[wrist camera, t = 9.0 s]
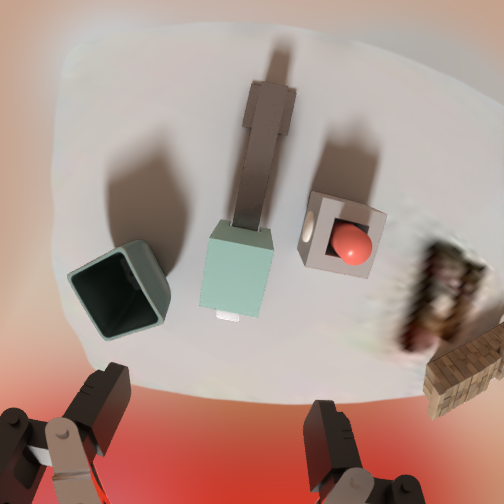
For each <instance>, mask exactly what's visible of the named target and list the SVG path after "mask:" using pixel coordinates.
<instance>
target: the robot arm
mask: <svg viewBox="0 0 504 504" xmlns="http://www.w3.org/2000/svg"><path fill="white" fill-rule="evenodd" d="M130 397H131V386H130V378H129V369H128V367H126V366H123V365H120V364H117V363H113V362H111V363H109V365H108V366H107V368H106V369H105V371H101V370H97V371H95V372H94V373H92V374H91V375H89V377H88V378H87V380H86V381H85V383H84V385H83V386H82V387H81V389H80V392H78V393H77V395H76V396H75V398H74V399H73V401H72V403H71V404H70V406H69V407H68V409H67V410H66V412H65V414H64V415H63V416H62V417H59V418H54V419H52V420H51V421H50V422H43V421H38V420H33V419H29V418H28V417H27V415H26V413H25V412H24V411H23V410H21V409H18V408H9V409H7V410H5V411H4V412H3V413H2V414H1V416H0V504H32V501H33V498H34V496H35V493H36V491H37V489H38V486H39V484H40V481H41V479H42V477H43V474H44V472H45V470H46V467H47V466H52V467H53V470H54V476H53V477H52V480H53V485H54V488H55V492H56V495H57V498H58V501H59V504H111V503H110V501H109V499H108V497H107V495H106V492H105V490H104V488H103V485H102V483H101V480H100V478H99V475H98V473H97V470H96V468H95V465H94V462H93V460H94V458H95V456H96V454H97V455H100V456H103V457H104V456H105V454H106V452H107V449H108V447H109V445H110V443H111V440H112V438H113V436H114V434H115V431H116V429H117V427H118V425H119V423H120V420H121V418H122V416H123V414H124V412H125V410H126V408H127V405H128V403H129V401H130ZM303 436H304V444H305V452H306V460H307V468H308V475H309V484H310V492H319V496H320V498H319V499H318V500H317V501H316V503H315V504H426V503H425V500H424V496H423V493H422V489H421V486H420V483H419V482H418V480H417V479H416V478H415V477H413V476H411V475H401V476H399V477H397V478H396V479H395V480H386V479H379V478H374V477H373V476H372V474H371V473H370V472H368V471H367V470H365V469H363V467H362V464H361V460H360V456H359V453H358V449H357V446H356V442H355V439H354V435H353V432H352V428H351V424H350V421H349V419H348V418H347V417H346V416H345V414H344V413H343V412H337V411H336V407H335V404H334V401H332V400H315V401H314V403H313V405H312V407H311V409H310V411H309V413H308V415H307V417H306V419H305V421H304V425H303Z"/></svg>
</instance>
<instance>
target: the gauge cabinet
mask: <svg viewBox="0 0 504 504" xmlns="http://www.w3.org/2000/svg"><path fill="white" fill-rule="evenodd" d="M386 218H387V214H385V213H383V212H381V211H379V210H377V209H374V208H372V207H370V206H368V205H365V204H361V203H358V202H354V201H350V200H347V199H343V198H339V197H335V196H331V195H327V194H323V193H319V192H315V191H311V194H310V199H309V203H308V207H307V211H306V215H305V220H304V224H303V228H302V232H301V236H300V240H299V244H298V248H297V249H298V252H299V254H300V256H301V259H302V261H303V263H304V266H305V267H308V268H313V269H319V270H324V271H329V272H334V273H339V274H344V275H350V276H355V277H360V278H365V279H368V276H369V273H370V271H371V268H372V265H373V262H374V258H375V255H376V252H377V249H378V246H379V242H380V239H381V236H382V232H383V229H384V225H385V222H386ZM339 221H348V222H350V223H352V224H353V225H355V226H356V227H357V228H359V229H360V230H362V231H363V232H364V233H366V234H367V235H368V236H369V237H370V239H371V241H372V252H371V255H370V257H369V258H368V259H367V260H366V261H365V262H364V263H362V264H360V265H349V264H347V263H345V262H344V261H343V260H342V258H341V257H340V256H339V255H338V254H337V252H336V251H335V250H334V249H333V247H332V246H331V245H330V243H329V238H330V234H331V230H332V226H333V225H334V224H335V223H337V222H339Z"/></svg>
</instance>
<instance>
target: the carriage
mask: <svg viewBox="0 0 504 504" xmlns="http://www.w3.org/2000/svg"><path fill="white" fill-rule="evenodd" d="M230 222H231V221H227V220H220V221H219V223H218V225H217V226H216V228H215V229H214V231H213V233H212V234H211V236H210V237H209V243H208V249H207V255H206V262H205V268H204V275H203V282H202V289H201V296H200V303H199V306H201V307H206V308H210V309H215V310H220V311H225V312H230V313H236V314H241V315H246V316H252V317H257V318H258V315H259V311H260V307H261V303H262V299H263V295H264V291H265V287H266V283H267V278H268V274H269V270H270V266H271V262H272V257H273V253H274V247H273V241H272V236H271V230H270V229H267V228H262V227H260V231H259V232H258V231H253V230H248V229H243V228H238V227H233V226H230Z"/></svg>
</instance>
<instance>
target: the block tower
mask: <svg viewBox="0 0 504 504" xmlns="http://www.w3.org/2000/svg"><path fill="white" fill-rule="evenodd" d="M494 377H496V378H497V380H500V379H502V378H503V377H504V322H502V323H501V324H499V325H498V326H497V327H495V328H493V329H491V330H490V331H488V332H486V333H484V334H483V335H481V336H479V337H477V338H476V339H475V340H473V341H471V342H469V343H467V344H465V345H463V346H461V347H460V348H459V349H456V350H454V351H452V352H450V353H448V354H447V355H444V356H442V357H440V358H439V359H437V360H435V361H433V362H430V363H428V364H427V365H426V375H425V381H424V382H425V384H424V388H423V392H424V393H425V395H426V396H427V398H428V400H429V401H430V403H429V407H428V414H429V415H430V417H431V419H432V420H434V419H436V418H438V417H440V416H443V415H445V414H446V413H447V412H449V411H451V410H452V409H454V408H455V407H457V406H459V405H461V404H463V403H464V402H467V401H468V400H470V399H472V398H474V397H475V396H476V395H478V394H479V393H481V392H483V391H485V390H486V389H487V387H488V384H489V382H490V379H492V378H494Z"/></svg>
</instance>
